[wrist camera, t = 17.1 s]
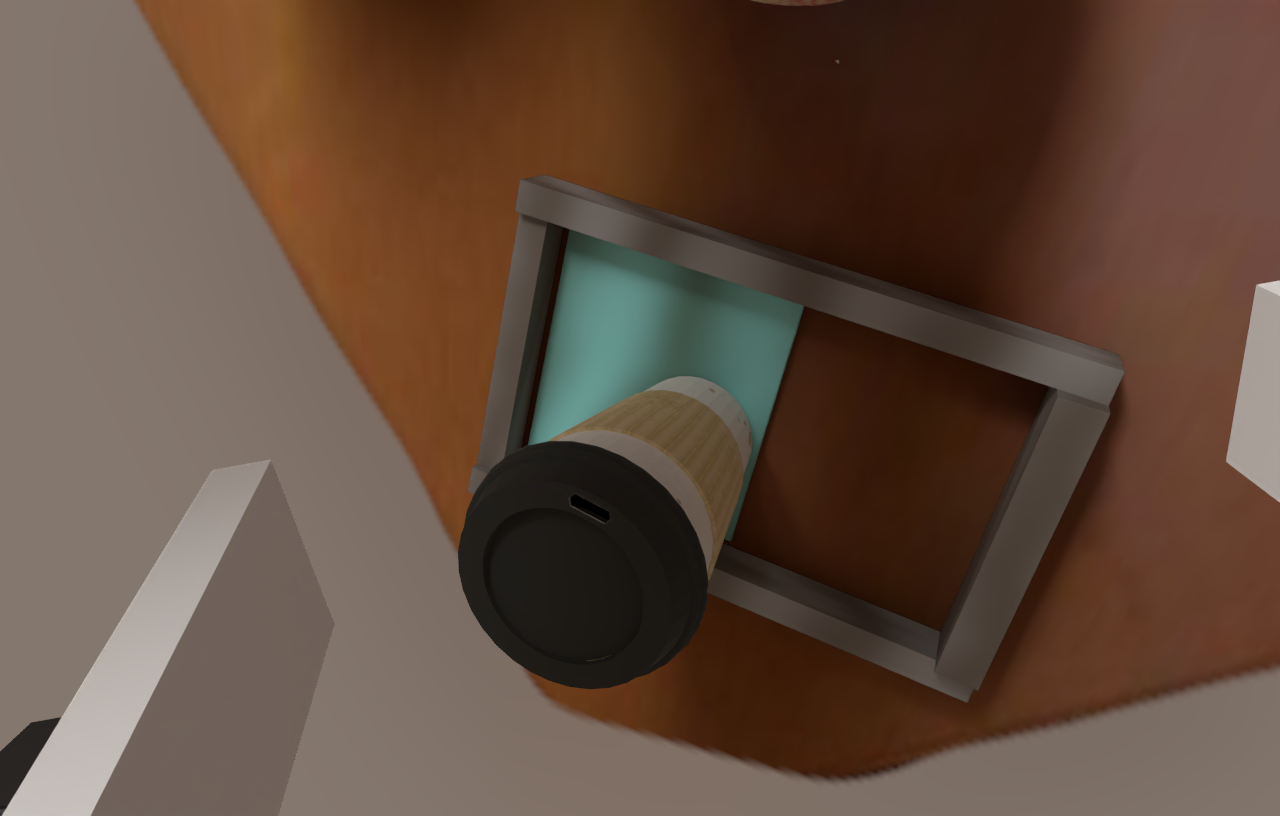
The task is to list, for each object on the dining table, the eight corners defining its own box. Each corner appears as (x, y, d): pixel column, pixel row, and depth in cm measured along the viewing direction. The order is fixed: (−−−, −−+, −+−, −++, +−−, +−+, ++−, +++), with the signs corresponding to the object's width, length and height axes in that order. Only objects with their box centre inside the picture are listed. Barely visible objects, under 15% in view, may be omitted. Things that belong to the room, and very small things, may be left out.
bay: (491, 474, 52) (458, 498, 49) (544, 174, 45) (509, 181, 42) (970, 672, 45) (965, 715, 42) (1119, 354, 38) (1127, 378, 35)
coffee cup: (578, 470, 49) (418, 622, 36) (635, 306, 45) (475, 413, 32) (745, 556, 47) (639, 749, 34) (822, 394, 43) (733, 546, 30)
